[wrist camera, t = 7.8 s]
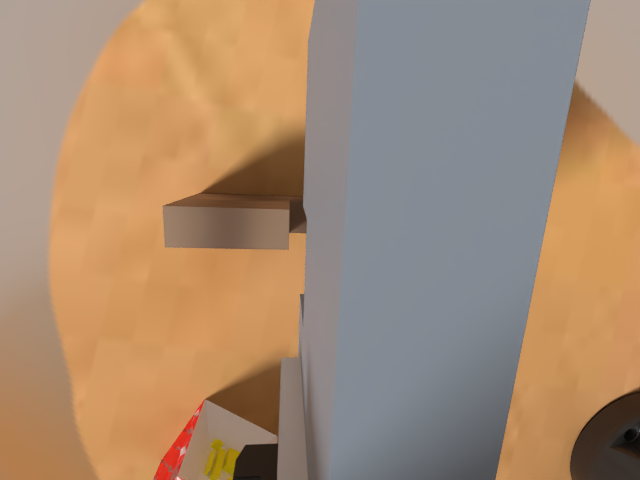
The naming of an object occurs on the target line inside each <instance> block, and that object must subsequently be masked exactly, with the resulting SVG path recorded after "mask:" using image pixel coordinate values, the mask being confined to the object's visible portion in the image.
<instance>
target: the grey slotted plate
mask: <svg viewBox="0 0 640 480" xmlns="http://www.w3.org/2000/svg"><path fill="white" fill-rule="evenodd" d="M589 5H590V0H315V4H314V10H313V16H312V22H311V28H310V34H309V40H308V70H307V100H306V131H305V162H304V193H303V208H304V211H305V214H306V217H307V234H306V262H305V290H304V294H300V316H299V347H298V358H301V375H302V391H303V407H304V424H305V440H306V456H307V473H308V480H495V478H496V473H497V468H498V463H499V458H500V453H501V448H502V443H503V438H504V433H505V428H506V423H507V418H508V413H509V408H510V403H511V398H512V393H513V388H514V383H515V378H516V373H517V368H518V363H519V358H520V353H521V348H522V343H523V338H524V332H525V327H526V322H527V317H528V312H529V307H530V302H531V297H532V292H533V287H534V282H535V277H536V272H537V267H538V262H539V257H540V252H541V247H542V242H543V237H544V232H545V227H546V222H547V217H548V212H549V207H550V202H551V197H552V191H553V186H554V181H555V176H556V171H557V166H558V161H559V156H560V151H561V146H562V141H563V136H564V131H565V126H566V121H567V116H568V111H569V106H570V101H571V96H572V91H573V86H574V81H575V76H576V71H577V65H578V61H579V56H580V50H581V45H582V40H583V34H584V30H585V25H586V20H587V15H588V10H589Z"/></svg>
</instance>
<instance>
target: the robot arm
mask: <svg viewBox="0 0 640 480" xmlns="http://www.w3.org/2000/svg"><path fill="white" fill-rule="evenodd" d="M570 472H571V477H572V480H640V392H639V393H635V394H632V395H629V396H627V397H624V398H622V399H620V400H618V401H616V402H614V403H612V404H611V405H609V406H608V407H606V408H605V409H604V410H602V411H601V412H600V413H599V414H597V415H596V416H595V417H594V418H593V419H592V420H591V421H590V422H589V423H588V425H587V426H586V427H585V428H584V430H583V431H582V433H581V434H580V436H579V438H578V440H577V442H576V444H575V446H574V449H573V452H572V456H571V462H570ZM233 480H308V473H307V456H306V440H305V424H304V407H303V391H302V375H301V358H281V379H280V408H279V437H278V443H276V444H250V445H245V446H244V448H243V449H242V451H241V453H240V454H239V456H238V457H237V459H236V462H235V468H234V474H233Z"/></svg>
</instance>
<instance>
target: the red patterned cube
mask: <svg viewBox="0 0 640 480" xmlns="http://www.w3.org/2000/svg"><path fill="white" fill-rule="evenodd" d="M277 439H278V436H276V435H274V434H272V433H270V432H269V431H267V430H265V429H263V428H261V427H259V426H257V425H255V424H253V423H251V422H249V421H247V420H245V419H243V418H241V417H239V416H237V415H235V414H233V413H231V412H230V411H228V410H226V409H224V408H222V407H220V406H218V405H216V404H214V403H212V402H210V401H208V400H206V399H205V400H204V401H203V402H202V404H201V405H200V407H199V408H198V409H197V411H196V412H195V414H194V415H193V417H192V418H191V420H190V421H189V423H188V424H187V425H186V427H185V428H184V430H183V431H182V432H181V434H180V435H179V437H178V438H177V440H176V441H175V442H174V444H173V446H172V447H171V448H170V449H169V451H168V452H167V454H166V455H165V457H164V458H163V459H162V460H161V463H160V465H159V467H158V470H157V472H156V474H155V477H154V479H153V480H233V474H234V468H235V462H236V459H237V457H238V456H239V454H240V453H241V451H242V449H243V448H244V446H245V445H250V444H276V443H277Z"/></svg>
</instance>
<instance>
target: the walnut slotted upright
mask: <svg viewBox="0 0 640 480" xmlns="http://www.w3.org/2000/svg"><path fill="white" fill-rule="evenodd" d="M163 220H164V237H165V247H174V248H226V249H278V250H289V233H307V217H306V214H305V211H304V208H303V197H297V196H268V195H239V194H209V193H199V194H196V195H193V196H190V197H187V198H184V199H181V200H178V201H175V202H172V203H170V204H167V205H164V206H163Z"/></svg>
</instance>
